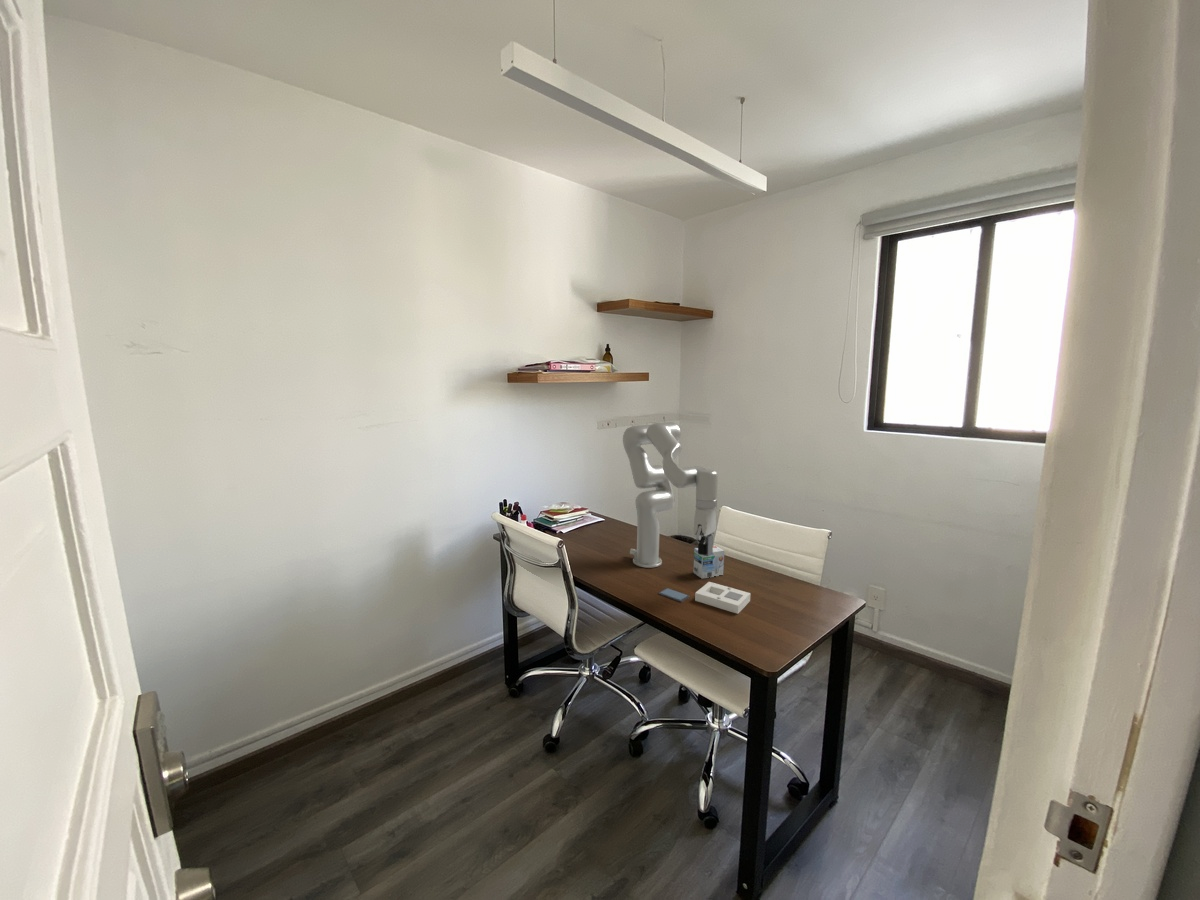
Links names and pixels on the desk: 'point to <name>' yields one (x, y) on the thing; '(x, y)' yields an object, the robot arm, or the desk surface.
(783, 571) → the desk surface
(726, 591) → the outlet plate
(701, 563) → the light bulb box
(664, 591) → the phone
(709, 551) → the charger
